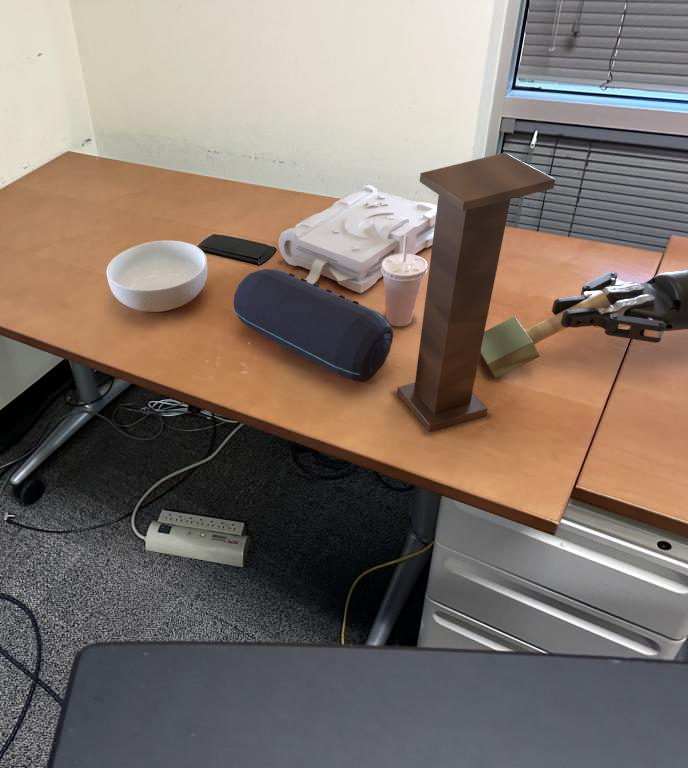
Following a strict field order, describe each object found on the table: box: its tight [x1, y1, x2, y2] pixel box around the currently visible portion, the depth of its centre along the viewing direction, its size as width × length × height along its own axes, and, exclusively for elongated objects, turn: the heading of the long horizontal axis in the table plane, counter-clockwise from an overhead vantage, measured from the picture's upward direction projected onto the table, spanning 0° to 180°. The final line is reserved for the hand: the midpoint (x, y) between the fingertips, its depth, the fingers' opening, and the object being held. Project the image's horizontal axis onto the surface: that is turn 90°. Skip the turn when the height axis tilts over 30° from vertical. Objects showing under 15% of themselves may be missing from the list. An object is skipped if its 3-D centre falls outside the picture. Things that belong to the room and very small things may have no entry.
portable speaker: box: [232, 268, 394, 383], centre depth 98 cm, size 25×10×10 cm, turn 40°
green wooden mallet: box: [480, 292, 611, 378], centre depth 90 cm, size 16×6×3 cm
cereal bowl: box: [106, 239, 208, 313], centre depth 115 cm, size 17×17×7 cm
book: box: [278, 184, 437, 294], centre depth 118 cm, size 19×28×8 cm
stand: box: [396, 152, 556, 433], centre depth 80 cm, size 10×8×31 cm
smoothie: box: [381, 234, 428, 327], centre depth 100 cm, size 6×6×14 cm
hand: (559, 313), depth 89 cm, fingers closed on green wooden mallet, 2 cm apart
